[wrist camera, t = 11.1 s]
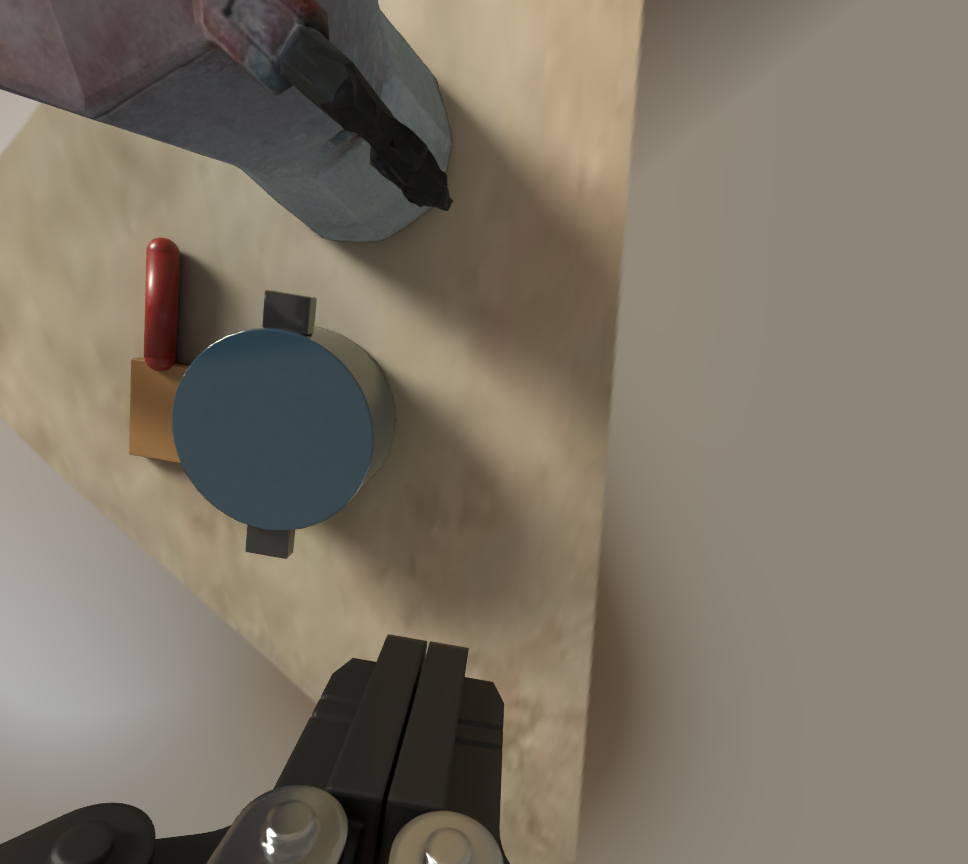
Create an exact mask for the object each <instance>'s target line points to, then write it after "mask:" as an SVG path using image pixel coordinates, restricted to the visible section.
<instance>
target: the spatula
mask: <svg viewBox="0 0 968 864" xmlns="http://www.w3.org/2000/svg"><path fill="white" fill-rule="evenodd" d="M179 270H180V251H179V249H178V247H177V245H176V244H175V243H174V242H172V241H171V240H169V239H167V238H156V239H153V240H152V241H151V242H150V243H149V244H148V246H147V254H146V292H145V331H144V358H133V359H131V395H130V442H129V454H130V455H136V456H142V457H148V458H154V459H160V460H166V461H172V462H178V463H181V462H180V459H179V457H178V454H177V451H176V447H175V444H174V438H173V431H172V412H173V403H174V399H175V395H176V391H177V389H178V386H179V384H180V381H181V379H182V377H183V375H184V374H185V372H186V370H187V368H188V367H189V365H183V364H177V363H175V362H176V349H177V323H178V297H179Z"/></svg>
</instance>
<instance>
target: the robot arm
mask: <svg viewBox="0 0 968 864" xmlns="http://www.w3.org/2000/svg"><path fill="white" fill-rule="evenodd" d="M426 650H427V641H424V640H418V639H412V638H407V637H401V636H395V635H388V636H387V638H386V640H385V642H384V645H383V647H382V650H381V652H380V655H379V657H378V660H377V662H373V661H368V660H362V659H356V658H352V659H351V660H350V661H349V662H347V663H346V664H345V665H343V666H342V667H341V668H339V669H338V670H337V671H336V672H334V673H333V674H332V676H331V678H330V680H329V682H328V684H327V686H326V688H325V689H324V691H323V693H322V696H321V699H319V701H318V703H317V705H316V707H315V709H314V711H313V714H312V717H310V719H309V721H308V723H307V725H306V727H305V729H304V730H303V732H302V734H301V737H300V738H299V740H298V742H297V744H296V746H295V748H294V750H293V752H292V754H291V756H290V758H289V760H288V762H287V764H286V766H285V768H284V769H283V772H282V774H281V775H280V777H279V779H278V781H277V783H276V785H275V787H274V789H273V790H271V791H269V792H266V793H264V794H262V795H260V796H259V797H257V798H256V799H254V800H253V801H252V802H250V803H249V804H248V805H247V806H246V807H245V808H244V809H243V810H242V811H241V812H240V814H239V815H238V816H237V818H236V819H235V820H234V822H233V824H232V825H230V826H228V827H225V828H223V829H219V830H216V831H213V832H208V833H202V834H195V835H186V836H178V837H170V838H161V839H155V829H154V825H153V823H152V820H151V819H150V818H149V817H148V815H147V814H146V813H144V812H143V811H142V810H140V809H138V808H136V807H134V806H131V805H127V804H123V803H101V804H96V805H91V806H87V807H83V808H80V809H77V810H74V811H72V812H70V813H67V814H65V815H63V816H61V817H58V818H56V819H54V820H52V821H50V822H48V823H45V824H43V825H41V826H39V827H37V828H35V829H32V830H30V831H28V832H26V833H24V834H22V835H20V836H18V837H15V838H13V839H11V840H9V841H7V842H4V843H3V844H0V864H510V863H509V861H508V860H507V858H506V856H505V853H504V851H503V848H502V845H501V840H500V831H499V825H500V798H501V771H502V744H503V717H504V702H503V700H502V699H501V697H500V695H499V693H498V691H497V689H496V687H495V685H494V683H493V682H490V681H484V680H478V679H473V678H467V677H465V670H466V663H467V656H468V650H469V648H466V647H460V646H454V645H448V644H442V643H437V642H431V641H430V643H429V647H428V651H427V654H426ZM425 657H426V658H425Z"/></svg>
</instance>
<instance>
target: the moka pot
mask: <svg viewBox="0 0 968 864" xmlns="http://www.w3.org/2000/svg"><path fill="white" fill-rule="evenodd" d="M0 89H2V90H5V91H8V92H11V93H14V94H17V95H20V96H23V97H26V98H29V99H33V100H36V101H38V102H41V103H45V104H48V105H51V106H54V107H57V108H60V109H63V110H66V111H69V112H72V113H75V114H78V115H81V116H84V117H87V118H90V119H93V120H96V121H99V122H102V123H105V124H109V125H112V126H115V127H118V128H121V129H124V130H127V131H130V132H133V133H136V134H140V135H143V136H146V137H149V138H152V139H155V140H158V141H161V142H164V143H168V144H171V145H174V146H177V147H180V148H183V149H186V150H189V151H192V152H194V153H197V154H200V155H204V156H207V157H210V158H213V159H216V160H219V161H223V162H226V163H229V164H232V165H234V166H236V167H238V168H240V169H241V170H243V171H244V172H245V173H246V174H247V175H248V176H249V177H250V178H251V179H252V180H254V181H255V182H256V183H257V184H258V185H259V186H260V187H261V188H262V189H264V190H265V191H266V192H267V193H268V194H269V195H270V196H271V197H272V198H274V199H275V200H276V201H277V202H278V203H279V204H281V205H282V206H283V207H284V208H286V209H287V210H288V211H289V212H291V213H292V214H293V215H294V216H296V217H297V218H298V219H300V220H301V221H302V222H303V223H305V224H306V225H307V226H308V227H309V228H311V229H312V230H313V231H314V232H316V233H317V234H318V235H320V236H321V237H322V238H326V239H331V240H340V241H351V242H358V241H381V240H384V239H386V238H388V237H390V236H391V235H393V234H395V233H397V232H399V231H400V230H401V229H402V228H404V227H406V226H407V225H409V224H410V223H412V222H413V221H415V220H416V219H417V218H418V217H420V216H421V215H422V214H423V213H425V212H426V211H428V210H430V209H431V208H432V207H437V208H438V209H441V210H445V211H448V210H449V208H450V206H451V204H452V202H453V200H452V199H451V198H450V196H449V191H448V187H447V175H446V169H447V166H448V162H449V156H450V152H451V147H452V137H451V131H450V127H449V123H448V119H447V115H446V112H445V108H444V104H443V101H442V97H441V94H440V91H439V87H438V83H437V80H436V78H435V77H434V75H433V74H432V73H431V71H430V70H429V68H428V67H427V66H426V65H425V64H424V63H423V62H422V60H421V59H420V58H419V56H418V55H417V54H416V53H415V52H414V50H413V49H412V48H411V47H410V45H409V44H408V43H407V41H406V40H405V39H404V37H403V36H402V35H401V34H400V33H399V32H398V31H397V30H396V28H395V27H394V26H393V25H392V24H391V23H390V21H389V20H388V19H387V18H386V16H385V15H384V14H383V12H382V11H381V10H380V8H379V4H378V0H0Z"/></svg>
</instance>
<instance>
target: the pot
mask: <svg viewBox="0 0 968 864" xmlns="http://www.w3.org/2000/svg"><path fill="white" fill-rule="evenodd" d="M316 300H317V299H316V298H315V297H309V296H303V295H297V294H290V293H284V292H278V291H270V290H266V291H265V299H264V312H263V325H262V327H263V328H259V329H250V330H244V331H240V332H237V333H233V334H230V335H228V336H226V337H224V338H222V339H220V340H218V341H216V342H214V343H213V344H211V345H210V346H209V347H207V348H206V349H205V350H203V351H202V352H201V353H200V354H199V355H198V356H197V357H196V358H195V359H194V361H193V362H192V363H191V364H190V366H189V367H188V368H187V370H186V372H185V374H184V375H183V377H182V379H181V381H180V384H179V386H178V389H177V391H176V395H175V399H174V403H173V412H172V431H173V438H174V444H175V447H176V451H177V454H178V457H179V459H180V462H181V464H182V466H183V469H184V470H185V472H186V474H187V476H188V477H189V479H190V480H191V482H192V483H193V485H194V486H195V487H196V489H197V490H198V491H199V492H200V493H201V494H202V495H203V496H204V498H205V499H206V500H208V501H209V502H210V503H211V504H212V505H213V506H215V507H216V508H217V509H218V510H220V511H221V512H223V513H224V514H226V515H227V516H229V517H231V518H233V519H235V520H237V521H239V522H242V523H245V524H247V538H246V552H250V553H256V554H261V555H267V556H273V557H278V558H284V559H287V558H288V557H289V556H290V555H291V554H292V553H293V547H294V537H295V530H296V529H302V528H306V527H310V526H313V525H316V524H318V523H320V522H323V521H325V520H327V519H329V518H330V517H332V516H333V515H335V514H337V513H338V512H339V511H340V510H341V509H343V508H344V507H345V506H346V505H347V504H348V503H349V502H350V501H351V500H352V499H353V498H354V497H355V495H356V494H357V493H358V492H359V491H360V490H361V489H362V488H363V487H364V485H365V484H366V483H367V482H368V481H369V480H370V479H371V478H372V477H373V475H374V474H375V473H376V472H377V471H378V470H379V468H380V467H381V465H382V464H383V463H384V461H385V459H386V457H387V455H388V453H389V451H390V448H391V445H392V442H393V437H394V432H395V407H394V402H393V397H392V393H391V391H390V388H389V385H388V383H387V381H386V379H385V376H384V374H383V373H382V371H381V370H380V368H379V367H378V365H377V364H376V363H375V361H374V360H373V359H372V358H371V357H370V355H369V354H368V353H366V352H365V351H364V350H363V349H362V348H361V347H360V346H359V345H357V344H356V343H354V342H353V341H351V340H350V339H348V338H346V337H344V336H343V335H341V334H339V333H336V332H333V331H331V330H328V329H324V328H319V327H314V322H315V311H316Z"/></svg>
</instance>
